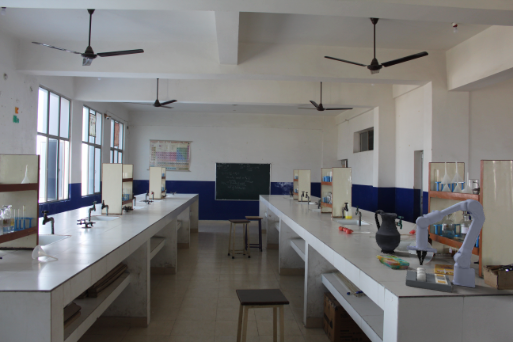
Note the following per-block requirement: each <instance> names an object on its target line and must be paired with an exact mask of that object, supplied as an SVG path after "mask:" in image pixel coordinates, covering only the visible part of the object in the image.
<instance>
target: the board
mask: <svg viewBox="0 0 513 342" xmlns="http://www.w3.org/2000/svg"><path fill="white" fill-rule="evenodd" d="M405 286H406V287H414V288H421V289H427V290H435V291H439V292H447V293H448V292H449V293H452V283H451V280H450V277H449V275H445V274H438V273H428V272H426V282H424V281H417V271H414V270H407V269H406V277H405Z"/></svg>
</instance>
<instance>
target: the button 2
mask: <svg viewBox="0 0 513 342" xmlns="http://www.w3.org/2000/svg"><path fill="white" fill-rule="evenodd" d="M417 281H424V282H426V274H423V273H417Z"/></svg>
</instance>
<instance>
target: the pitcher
mask: <svg viewBox="0 0 513 342" xmlns="http://www.w3.org/2000/svg"><path fill="white" fill-rule="evenodd" d="M378 215H380V218H381V223H380V220H379V217H378ZM397 218H398V214H397V213H394V212H392V213H391V212H385V211H384V210H382V209H378V210H376V211H375V212H374V221H375V225H376V228H377V231H376V232H375V238H374V239H375V242H376V245H377V246H378V247H379V248H380V252H381V253H382V252H383V253H382V254H387V253H391V255H392V253H394V254H396V252H395V250H396V249H397V248H399V246H400V244H401V233H400V231H399V229H398V227H397V224H396V219H397Z"/></svg>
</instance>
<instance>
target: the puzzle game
mask: <svg viewBox="0 0 513 342" xmlns="http://www.w3.org/2000/svg"><path fill="white" fill-rule="evenodd" d="M375 258H376V259H377V260H378V261H379V262H380V263H381V264H383V266H386V267H388V268H390V269H393V270H394V269H404V270H405V269H406V270H407V269H408V268H409V267H410V265H411V264H410V262H409V261H407V260H404V259H402V258H400V257H397V256H395V255H389V254H388V255H379V254H377V255H376V256H375Z"/></svg>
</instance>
